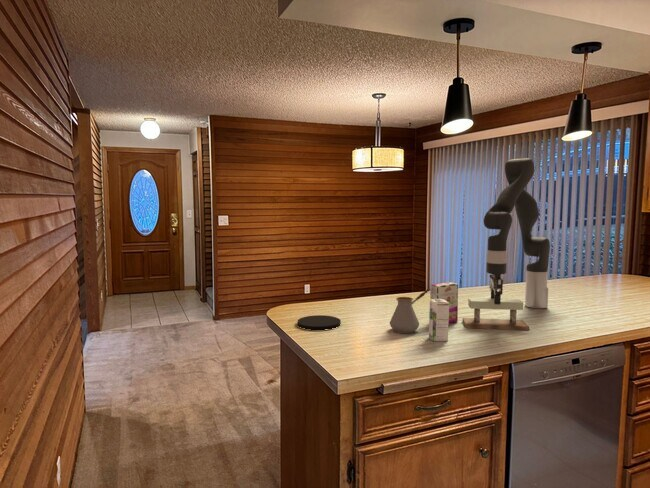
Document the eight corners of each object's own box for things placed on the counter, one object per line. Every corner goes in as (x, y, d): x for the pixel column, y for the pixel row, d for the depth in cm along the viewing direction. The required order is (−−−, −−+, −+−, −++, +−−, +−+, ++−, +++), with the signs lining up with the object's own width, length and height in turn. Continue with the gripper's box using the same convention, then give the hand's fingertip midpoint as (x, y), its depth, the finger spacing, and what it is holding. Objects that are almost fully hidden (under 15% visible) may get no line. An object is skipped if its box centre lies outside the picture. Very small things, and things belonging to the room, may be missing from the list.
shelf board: (518, 306, 186) (519, 299, 186) (523, 310, 180) (523, 302, 180) (468, 305, 189) (468, 298, 189) (470, 308, 183) (471, 301, 183)
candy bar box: (449, 319, 195) (450, 281, 194) (457, 322, 191) (458, 283, 189) (429, 322, 190) (429, 284, 189) (437, 325, 186) (438, 286, 184)
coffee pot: (405, 336, 171) (405, 297, 169) (383, 330, 180) (383, 292, 178) (441, 326, 184) (441, 290, 182) (419, 321, 193) (419, 286, 191)
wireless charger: (336, 319, 198) (336, 314, 198) (344, 330, 181) (344, 325, 181) (295, 320, 195) (295, 316, 195) (300, 332, 178) (300, 327, 178)
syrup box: (428, 337, 170) (428, 298, 169) (443, 336, 171) (444, 298, 169) (433, 341, 164) (433, 302, 163) (448, 341, 165) (449, 301, 164)
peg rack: (522, 323, 188) (523, 305, 187) (529, 330, 178) (529, 311, 178) (462, 321, 192) (462, 303, 191) (465, 327, 182) (466, 309, 182)
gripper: (510, 264, 175) (509, 306, 177) (502, 259, 189) (501, 298, 191) (490, 263, 176) (489, 306, 178) (483, 259, 190) (482, 298, 192)
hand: (495, 302), depth 184 cm, fingers open, 6 cm apart
